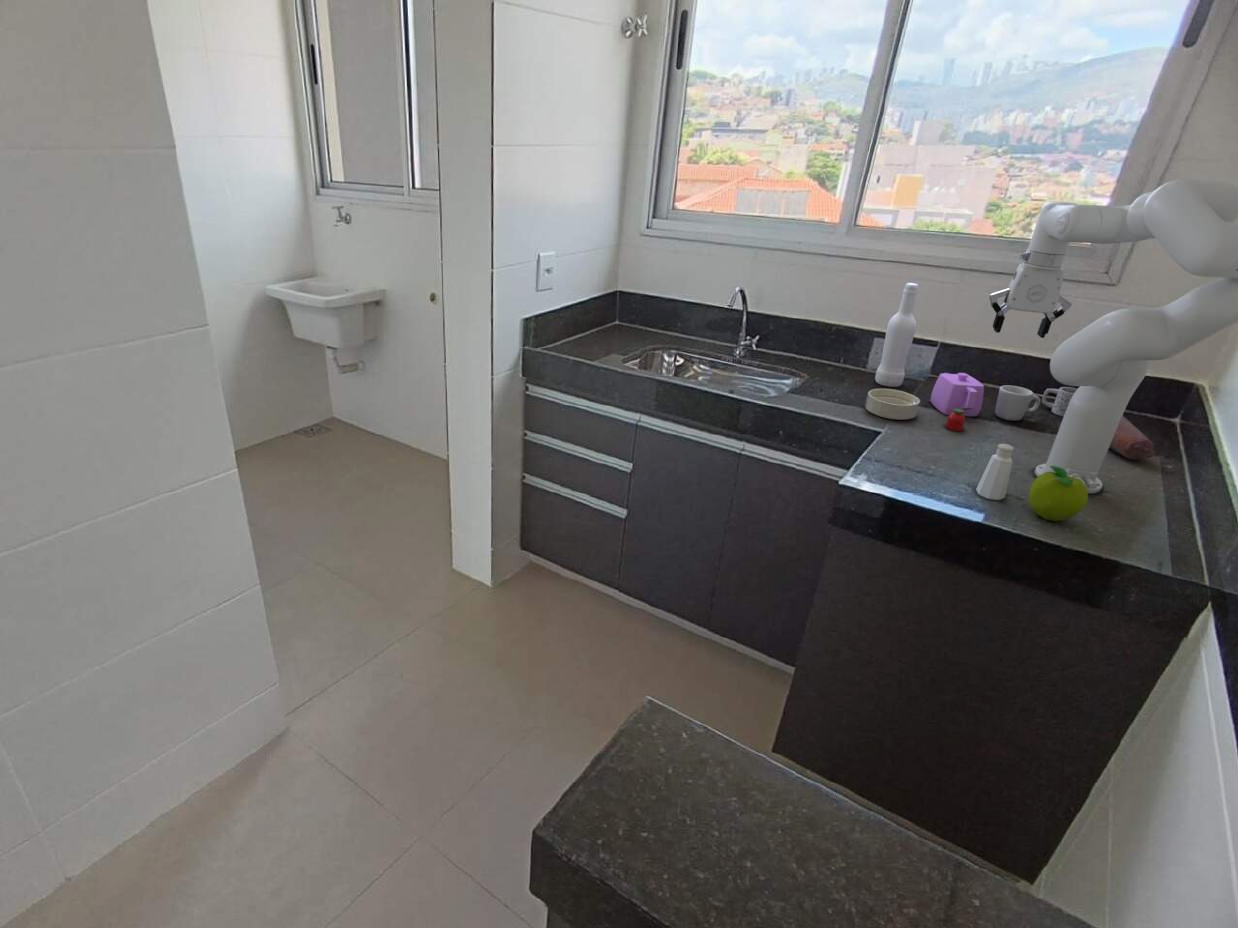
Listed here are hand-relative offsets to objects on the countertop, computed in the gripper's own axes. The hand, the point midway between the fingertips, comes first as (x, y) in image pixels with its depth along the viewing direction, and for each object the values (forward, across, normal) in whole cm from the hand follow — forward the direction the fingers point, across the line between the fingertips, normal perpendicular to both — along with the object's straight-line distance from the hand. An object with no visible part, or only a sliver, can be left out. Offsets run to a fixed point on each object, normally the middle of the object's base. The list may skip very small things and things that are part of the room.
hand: (1018, 333), depth 157 cm
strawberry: (+26, -8, -1) cm, 27 cm away
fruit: (+25, +2, -46) cm, 52 cm away
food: (+26, +28, +2) cm, 38 cm away
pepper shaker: (+25, -8, -39) cm, 47 cm away
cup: (+26, +10, +14) cm, 31 cm away
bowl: (+26, -23, +5) cm, 35 cm away
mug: (+26, +25, +25) cm, 44 cm away
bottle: (+27, -20, +32) cm, 46 cm away
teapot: (+26, -5, +15) cm, 31 cm away
